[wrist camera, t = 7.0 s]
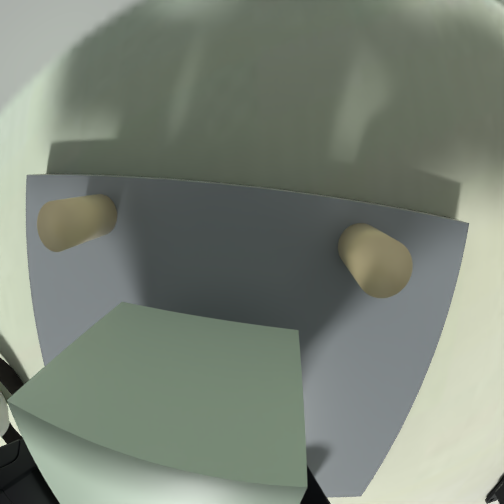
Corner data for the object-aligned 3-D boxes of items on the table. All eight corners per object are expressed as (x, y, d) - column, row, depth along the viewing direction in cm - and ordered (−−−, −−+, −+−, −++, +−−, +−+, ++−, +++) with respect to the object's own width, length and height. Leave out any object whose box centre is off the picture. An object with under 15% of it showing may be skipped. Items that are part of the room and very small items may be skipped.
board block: (298, 330, 8) (306, 487, 3) (264, 481, 10) (251, 589, 5) (121, 301, 9) (6, 400, 4) (140, 456, 10) (94, 548, 5)
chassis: (452, 218, 10) (513, 237, 6) (358, 480, 13) (366, 532, 9) (45, 174, 11) (-20, 178, 7) (77, 429, 14) (47, 469, 11)
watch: (-21, 345, 14) (-55, 369, 11) (17, 351, 14) (-23, 380, 10) (25, 435, 16) (1, 463, 12) (68, 449, 15) (43, 483, 12)
